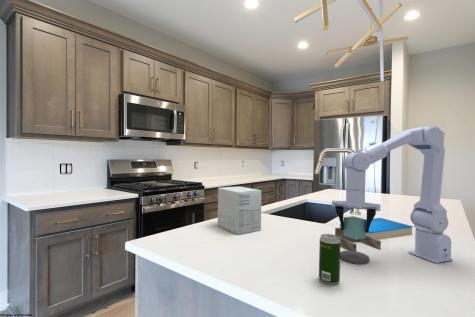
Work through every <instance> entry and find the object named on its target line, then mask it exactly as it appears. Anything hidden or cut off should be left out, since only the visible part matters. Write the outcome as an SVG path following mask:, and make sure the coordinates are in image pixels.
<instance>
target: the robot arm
mask: <svg viewBox="0 0 475 317" xmlns="http://www.w3.org/2000/svg"><path fill="white" fill-rule="evenodd" d="M444 140H445V132H444V131H443V130H442V129H441V128H440V127H439V126H437V125H429V126H421V127H410V128H408V129H405V130H403V131H401V132H399V133H397V134H395V135H394V136H393V137H391V138H389V139H387V140H386V141H383V142H379V141H371V142H369V144H368V145H367V146H365V147H363V148H358V149H356V150H357V151H356V152H349V153H348V154H346V156H345V157H344V160H343V161H342V165H343V166H344V168H345V172H346V173H345V175H346V176H345V178H346V180H345V181H346V184H345V185H346V186H345V188H346V189H345V200H331V208H335V212H336V215H337V216H338V220H339V222H340V224H341V230H344V211H345V210H344V209H355V210H365V211H366V219H367V221H366V233H368V232H369V227H370V224H371V222H372V220H373V218H375V216H376V215H377V212H381V204H380V203H371V202H366V171H367V170H368V169H369V167H370V165H373V164H375V163H376V162H378V161H381V160H383V159H385V158H386V157H387V156H388V152H390V151H392V150H395V149H397V148H400V147H402V146H404V145H409V146H410V147H411V148H414V149H416V150H418V151H419V152H420V153H421V154H422V155H423V166H422V176H421V177H422V178H421V187H420V196H419V197H420V198H419V200H418V201H416V202H415V203H414V204H413V208H412V211H411V212H410V218H409V219H410V221H411V223H412V224H413V228H415V236H414V238H415V239H414V240H415V241H414V250H410V251H408V254H411V255H413V256H416V257H419V258H422V259H425V260H426V261H429V262H432V263H434V264H439V263H445V262H450V261H453V258H452V239H451V237H450V236H449V235H447V234H444V231H445V230H446V229H448V226H449V219H448V216H447V215H448V214H447V213H448V210H447V209H446V207H444V206H443V205H442V204H441V194H442V183H443V173H444V165H445V164H444V163H445V155H446V154H445V153H446V151H445V150H446V149H445V146H444V143H445V141H444ZM340 224H339V225H340Z"/></svg>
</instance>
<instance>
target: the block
mask: <svg viewBox="0 0 475 317" xmlns="http://www.w3.org/2000/svg"><path fill="white" fill-rule="evenodd" d="M366 219H367V218H361V217H357V216H354V215H353V216H343V220H344V236H347V237H350V238H352V239H355V240H357V239H363V238H366Z"/></svg>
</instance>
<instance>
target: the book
mask: <svg viewBox="0 0 475 317" xmlns="http://www.w3.org/2000/svg"><path fill="white" fill-rule="evenodd" d="M365 219H366V221H367V218H365ZM340 227H341V224H339V228H340ZM413 228H414V225H413V226H412V225H409V224H406V223H401V222H397V221H394V220H390V219H386V218H382V217H374V218H373V220H372V222H371V224H370V227H369V232H368V233H366V236H369V237H372V238H374V239H377V240H382V239H387V238H388V239H389V238H396V237H403V236H409V235H413Z"/></svg>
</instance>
